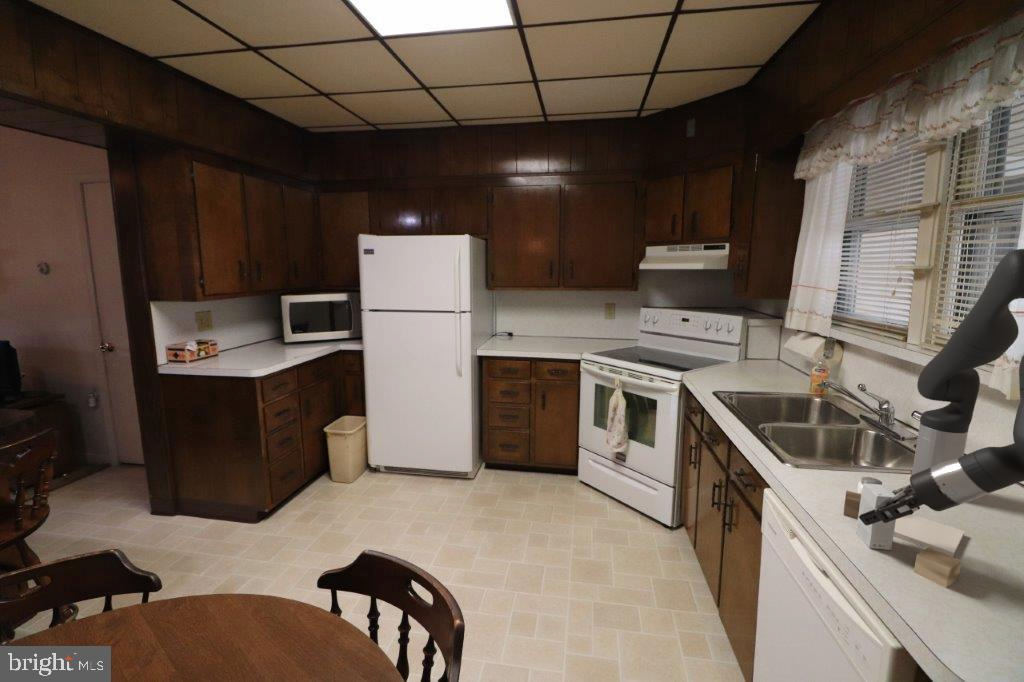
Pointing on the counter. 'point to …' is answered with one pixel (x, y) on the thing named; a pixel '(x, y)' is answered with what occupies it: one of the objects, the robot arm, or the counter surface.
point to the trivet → (928, 534)
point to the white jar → (868, 481)
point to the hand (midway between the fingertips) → (868, 514)
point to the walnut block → (852, 504)
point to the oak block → (937, 567)
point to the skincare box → (878, 532)
